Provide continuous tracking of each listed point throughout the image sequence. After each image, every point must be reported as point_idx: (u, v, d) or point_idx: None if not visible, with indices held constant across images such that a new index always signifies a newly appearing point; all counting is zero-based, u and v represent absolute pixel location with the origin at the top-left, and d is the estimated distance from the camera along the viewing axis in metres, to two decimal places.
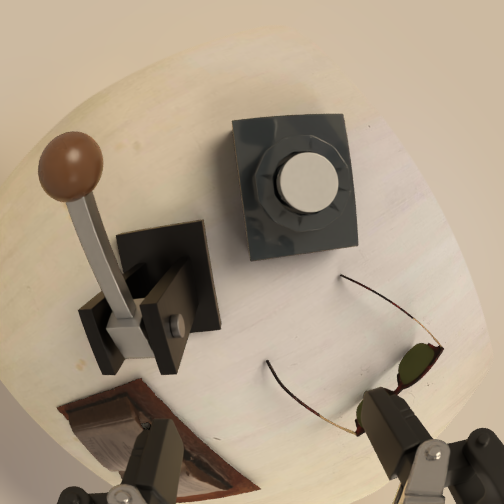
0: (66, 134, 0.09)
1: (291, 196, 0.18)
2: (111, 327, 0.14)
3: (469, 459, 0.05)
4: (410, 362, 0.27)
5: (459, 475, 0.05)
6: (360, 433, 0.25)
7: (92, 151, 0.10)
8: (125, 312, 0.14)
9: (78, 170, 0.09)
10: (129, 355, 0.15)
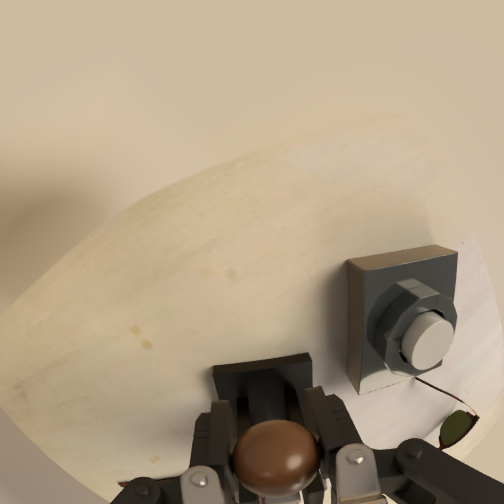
0: (290, 455, 0.07)
1: (417, 361, 0.16)
2: (271, 503, 0.12)
3: (398, 468, 0.06)
4: (451, 426, 0.25)
5: (389, 484, 0.06)
6: None
7: None
8: None
9: None
10: None
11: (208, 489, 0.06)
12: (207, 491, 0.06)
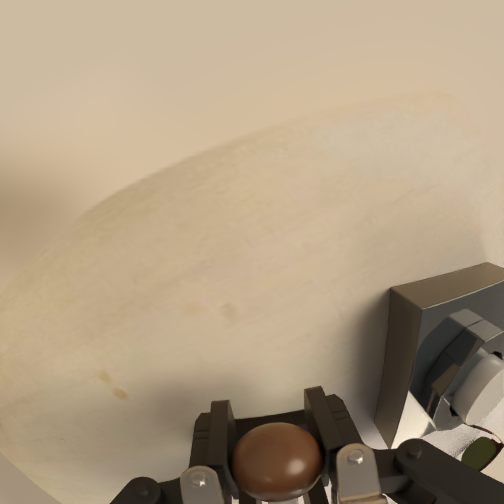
0: (286, 434, 0.07)
1: (471, 417, 0.09)
2: None
3: (398, 468, 0.06)
4: (473, 454, 0.18)
5: (389, 484, 0.06)
6: None
7: (321, 452, 0.07)
8: None
9: (313, 478, 0.06)
10: None
11: (208, 489, 0.06)
12: (207, 491, 0.06)
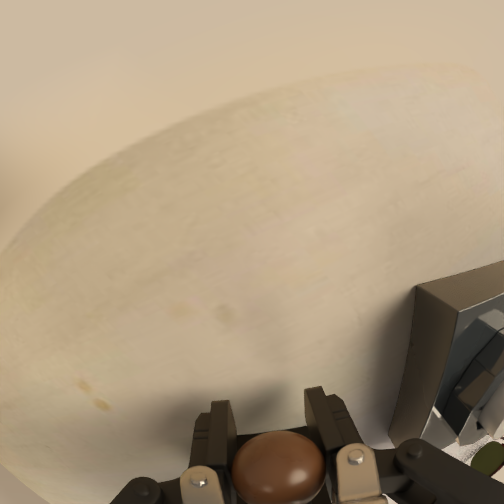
0: (287, 438, 0.07)
1: (499, 432, 0.07)
2: None
3: (398, 468, 0.06)
4: (483, 459, 0.16)
5: (389, 484, 0.06)
6: None
7: (324, 459, 0.07)
8: None
9: (316, 484, 0.06)
10: None
11: (207, 489, 0.06)
12: (207, 491, 0.06)
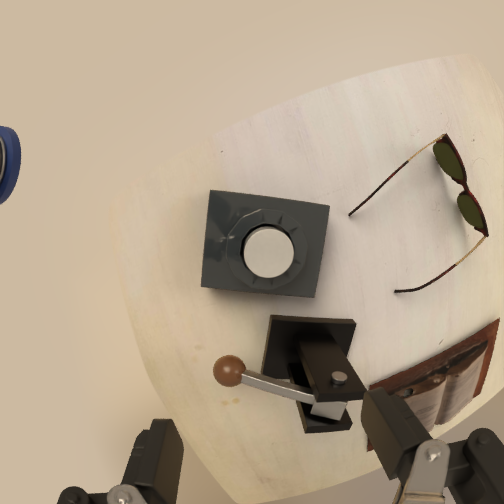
0: (214, 364, 0.25)
1: (276, 271, 0.23)
2: (311, 410, 0.21)
3: (468, 458, 0.05)
4: (446, 163, 0.26)
5: (459, 475, 0.05)
6: (486, 233, 0.25)
7: (225, 358, 0.25)
8: (310, 397, 0.22)
9: (226, 368, 0.24)
10: (337, 415, 0.20)
11: None
12: None
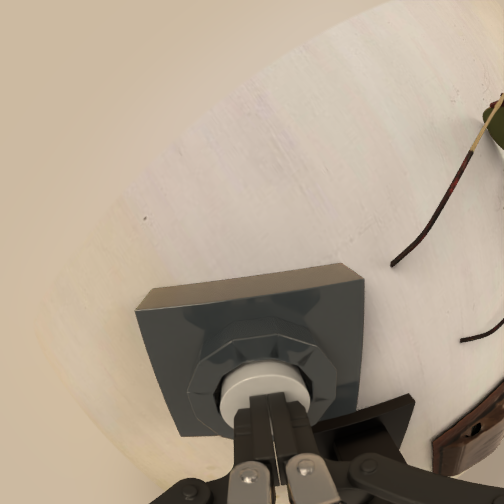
0: None
1: None
2: None
3: (352, 483, 0.06)
4: None
5: (343, 497, 0.06)
6: None
7: None
8: None
9: None
10: None
11: (261, 484, 0.06)
12: (255, 488, 0.06)
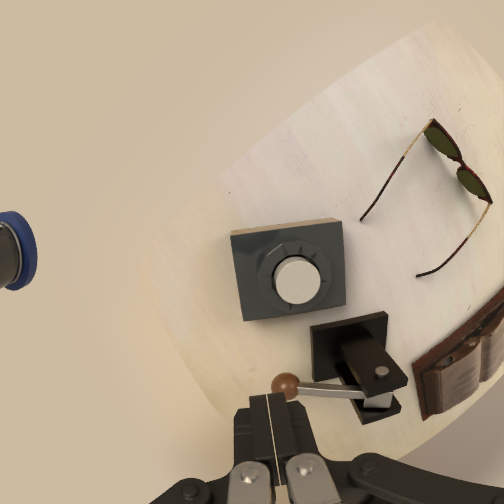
0: (271, 384, 0.28)
1: (308, 296, 0.25)
2: (364, 404, 0.23)
3: (352, 483, 0.06)
4: (439, 144, 0.26)
5: (343, 497, 0.06)
6: (490, 200, 0.25)
7: (280, 377, 0.27)
8: (360, 393, 0.24)
9: (283, 386, 0.26)
10: (387, 404, 0.22)
11: (261, 484, 0.06)
12: (255, 488, 0.06)
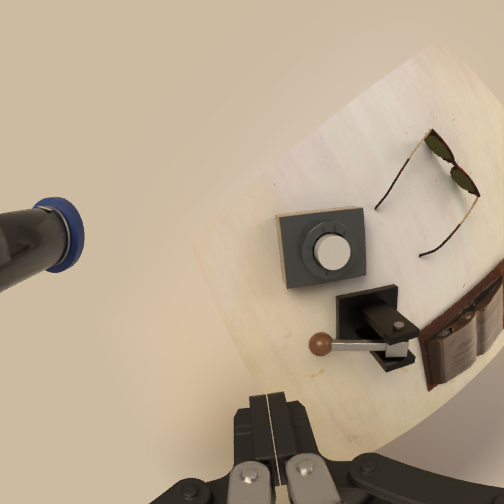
0: (309, 342, 0.34)
1: (341, 263, 0.31)
2: (386, 354, 0.30)
3: (352, 482, 0.06)
4: (436, 148, 0.33)
5: (343, 497, 0.06)
6: (478, 194, 0.32)
7: (317, 335, 0.34)
8: (382, 345, 0.30)
9: (320, 342, 0.33)
10: (404, 353, 0.29)
11: (261, 484, 0.06)
12: (255, 488, 0.06)
